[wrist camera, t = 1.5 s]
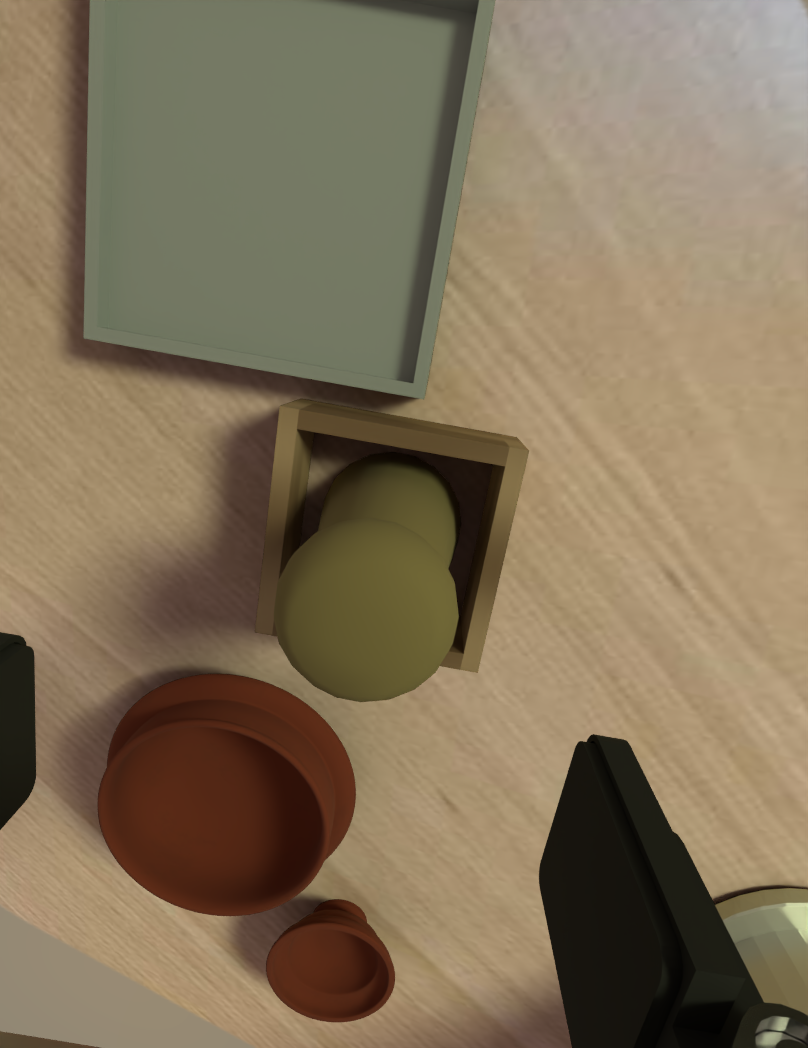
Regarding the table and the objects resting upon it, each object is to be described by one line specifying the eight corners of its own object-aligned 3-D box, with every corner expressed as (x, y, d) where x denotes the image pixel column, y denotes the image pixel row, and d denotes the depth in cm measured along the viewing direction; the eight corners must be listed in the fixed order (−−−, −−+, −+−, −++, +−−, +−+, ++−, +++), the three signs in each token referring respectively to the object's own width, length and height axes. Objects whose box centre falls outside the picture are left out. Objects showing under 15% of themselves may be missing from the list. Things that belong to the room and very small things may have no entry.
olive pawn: (305, 560, 27) (217, 696, 16) (346, 431, 25) (279, 489, 14) (432, 604, 27) (429, 767, 16) (482, 480, 25) (513, 572, 15)
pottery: (294, 616, 28) (268, 664, 23) (463, 932, 32) (466, 1020, 28) (85, 701, 30) (25, 760, 25) (272, 988, 34) (248, 1078, 30)
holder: (472, 633, 27) (477, 672, 24) (277, 597, 27) (254, 632, 24) (516, 437, 25) (529, 450, 21) (301, 398, 25) (279, 406, 21)
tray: (425, 395, 24) (424, 399, 22) (111, 339, 24) (83, 338, 23) (492, 17, 21) (498, -17, 19) (123, -47, 21) (91, -88, 19)
